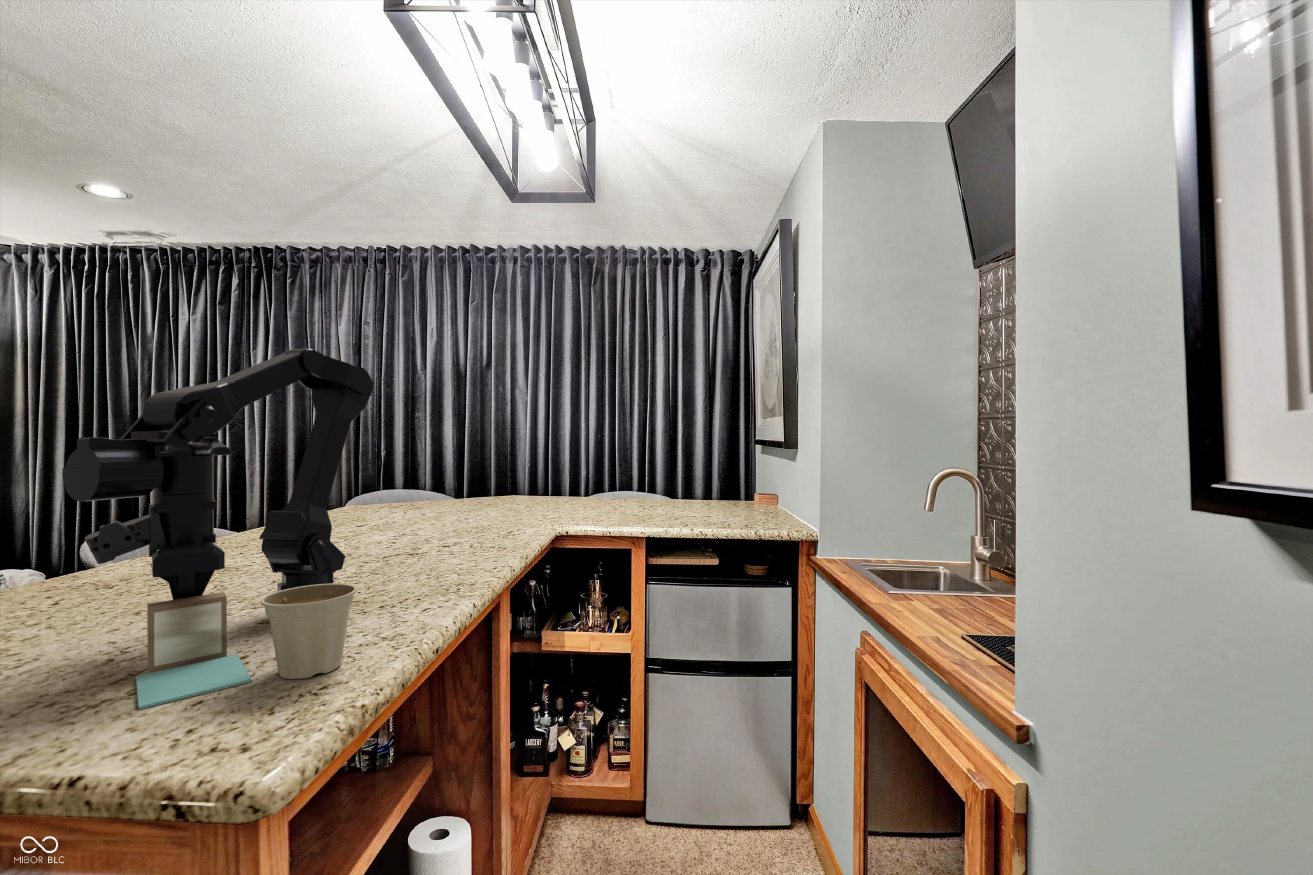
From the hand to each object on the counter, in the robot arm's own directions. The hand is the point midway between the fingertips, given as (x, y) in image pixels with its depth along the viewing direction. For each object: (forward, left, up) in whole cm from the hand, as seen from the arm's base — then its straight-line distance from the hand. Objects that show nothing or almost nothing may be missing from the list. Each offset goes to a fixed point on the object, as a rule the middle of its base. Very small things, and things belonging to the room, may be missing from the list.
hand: (184, 620), depth 69 cm
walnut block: (0, +4, -4) cm, 6 cm away
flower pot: (-10, +16, -4) cm, 19 cm away
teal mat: (0, +11, -4) cm, 11 cm away
